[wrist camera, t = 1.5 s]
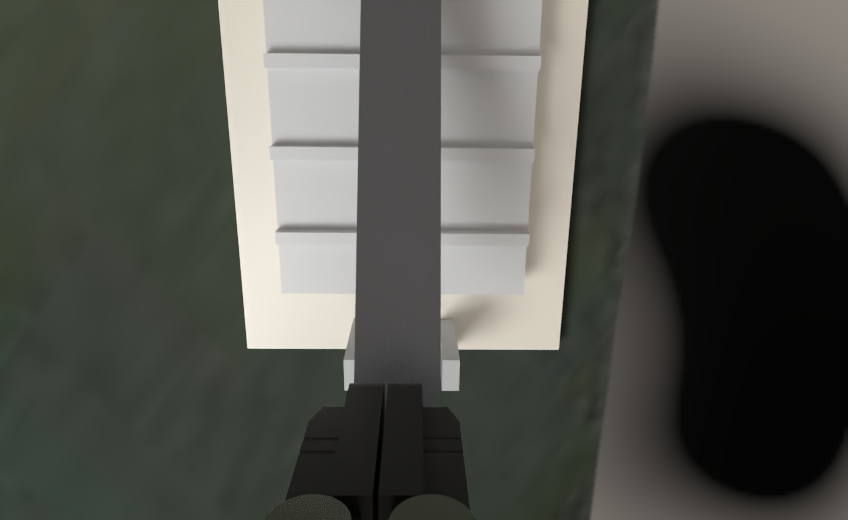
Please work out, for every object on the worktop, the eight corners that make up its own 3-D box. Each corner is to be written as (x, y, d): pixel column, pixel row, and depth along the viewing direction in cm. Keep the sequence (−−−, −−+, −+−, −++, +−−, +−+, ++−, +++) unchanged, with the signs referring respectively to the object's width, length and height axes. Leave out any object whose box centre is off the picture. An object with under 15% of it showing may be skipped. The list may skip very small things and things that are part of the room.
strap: (365, -104, 25) (362, -126, 24) (440, -103, 25) (441, -125, 24) (356, 424, 23) (352, 429, 21) (439, 424, 23) (440, 429, 21)
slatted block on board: (215, -104, 28) (166, -143, 23) (591, -99, 29) (633, -136, 23) (252, 340, 35) (221, 393, 30) (555, 341, 35) (580, 394, 30)
